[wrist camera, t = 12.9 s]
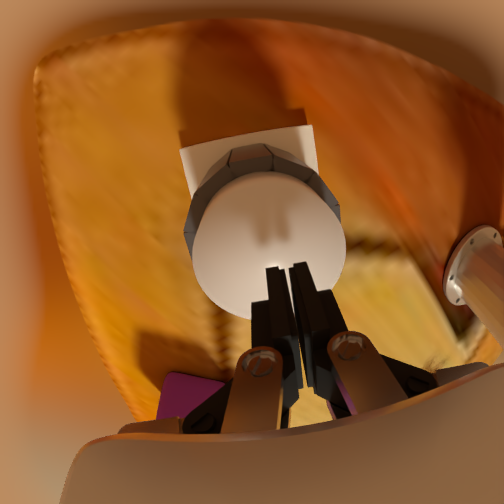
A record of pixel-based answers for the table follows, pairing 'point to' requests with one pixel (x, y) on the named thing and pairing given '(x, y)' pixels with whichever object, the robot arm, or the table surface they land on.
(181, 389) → the toy camera
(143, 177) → the table surface
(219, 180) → the lens barrel
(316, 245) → the glossy white sphere
